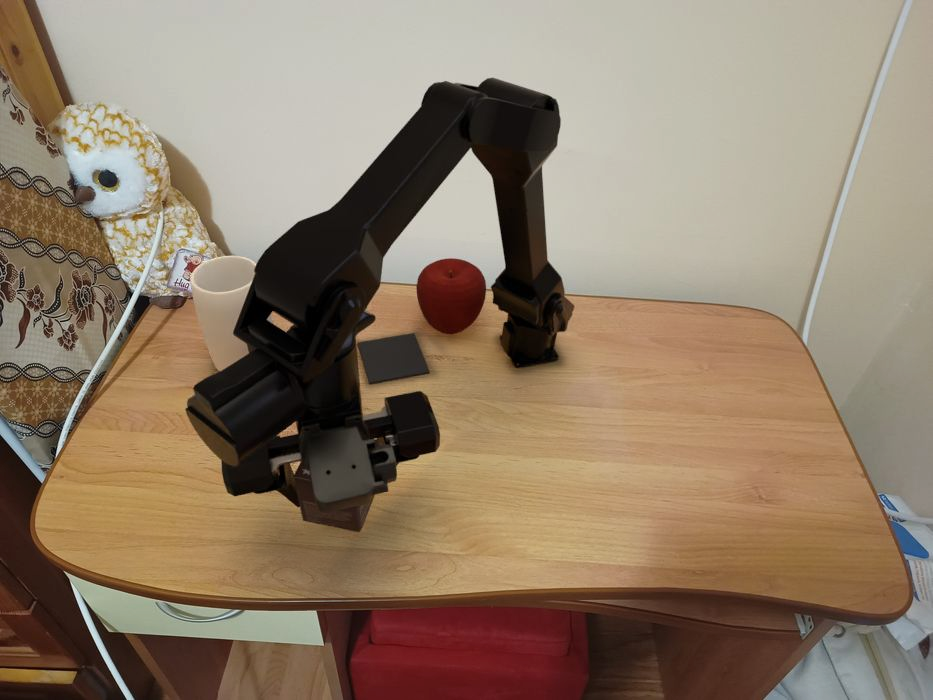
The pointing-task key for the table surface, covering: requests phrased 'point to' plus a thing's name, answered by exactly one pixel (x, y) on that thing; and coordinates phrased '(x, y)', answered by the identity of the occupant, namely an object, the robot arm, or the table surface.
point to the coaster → (392, 358)
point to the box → (338, 519)
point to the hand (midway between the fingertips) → (340, 493)
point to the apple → (451, 294)
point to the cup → (222, 305)
